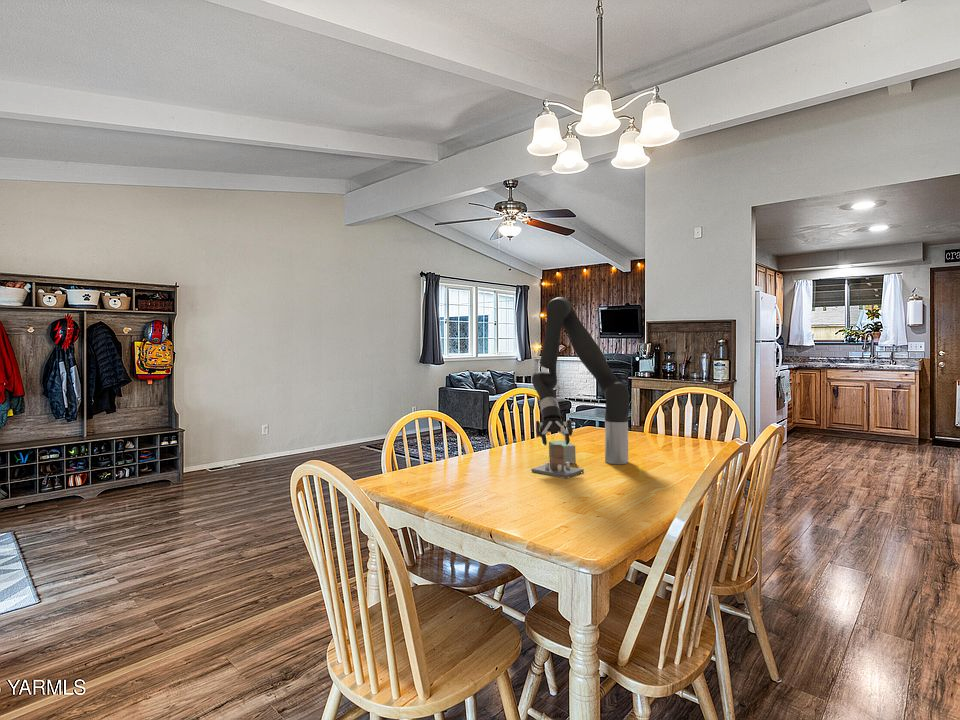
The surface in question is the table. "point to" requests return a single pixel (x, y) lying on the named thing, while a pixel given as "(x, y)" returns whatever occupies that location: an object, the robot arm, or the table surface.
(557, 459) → the post
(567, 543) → the table surface
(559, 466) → the peg plate
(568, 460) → the box
